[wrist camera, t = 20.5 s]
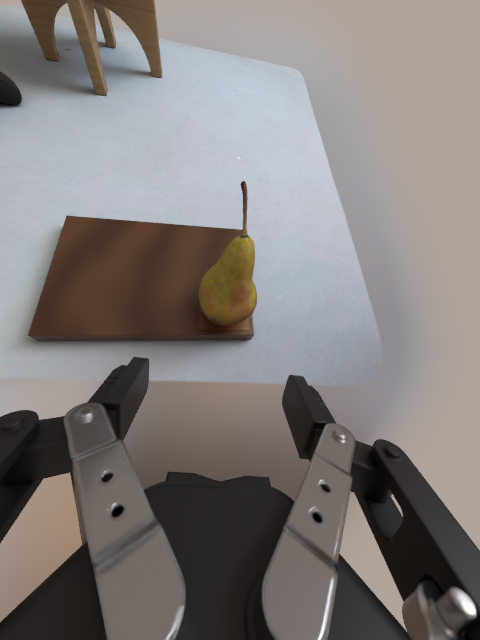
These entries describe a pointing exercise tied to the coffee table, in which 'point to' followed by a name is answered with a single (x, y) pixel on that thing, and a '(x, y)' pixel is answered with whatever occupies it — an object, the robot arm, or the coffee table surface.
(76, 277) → the serving board
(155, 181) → the coffee table surface
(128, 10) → the planter
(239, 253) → the fruit
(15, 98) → the gaming controller
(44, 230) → the coffee table surface
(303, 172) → the coffee table surface
